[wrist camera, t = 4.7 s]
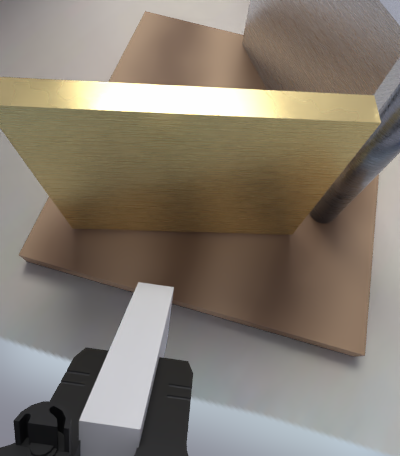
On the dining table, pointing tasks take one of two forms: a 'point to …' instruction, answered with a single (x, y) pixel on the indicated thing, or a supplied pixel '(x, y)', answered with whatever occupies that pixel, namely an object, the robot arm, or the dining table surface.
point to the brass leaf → (183, 152)
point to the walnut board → (225, 242)
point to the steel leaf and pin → (334, 71)
